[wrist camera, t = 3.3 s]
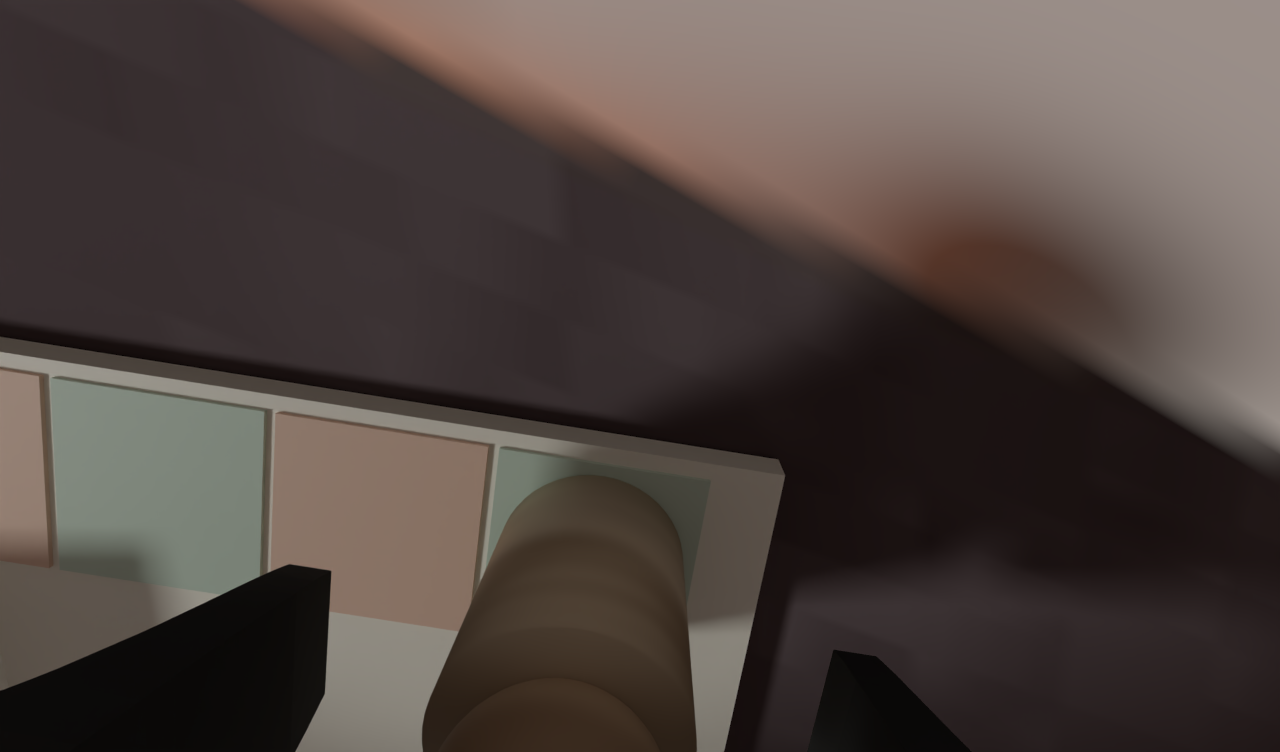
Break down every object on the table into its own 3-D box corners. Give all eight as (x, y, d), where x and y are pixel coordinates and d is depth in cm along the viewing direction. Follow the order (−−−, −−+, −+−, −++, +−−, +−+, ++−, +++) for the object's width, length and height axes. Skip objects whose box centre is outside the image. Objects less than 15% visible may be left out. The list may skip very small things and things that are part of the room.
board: (700, 817, 16) (703, 853, 15) (-153, 687, 16) (-202, 716, 15) (778, 459, 14) (786, 477, 13) (-206, 304, 14) (-266, 311, 13)
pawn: (665, 654, 14) (676, 1097, 7) (488, 627, 14) (331, 1049, 7) (698, 491, 13) (745, 821, 6) (509, 461, 13) (353, 763, 6)
